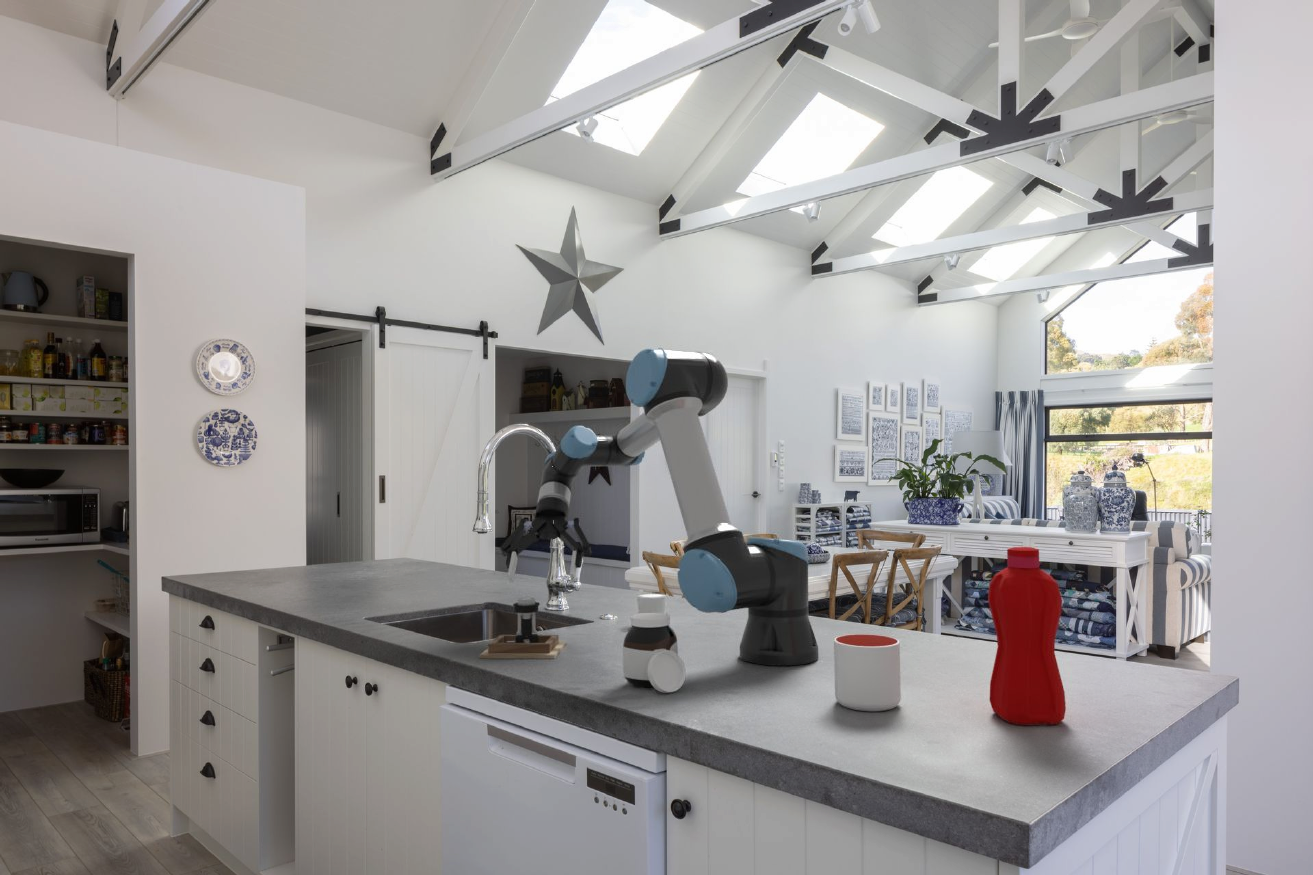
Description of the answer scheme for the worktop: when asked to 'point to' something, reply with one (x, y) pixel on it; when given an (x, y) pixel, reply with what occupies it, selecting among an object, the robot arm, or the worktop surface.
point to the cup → (867, 672)
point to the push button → (526, 620)
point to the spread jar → (652, 654)
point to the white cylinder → (651, 603)
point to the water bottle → (1026, 642)
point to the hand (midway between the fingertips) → (541, 578)
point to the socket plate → (523, 648)
